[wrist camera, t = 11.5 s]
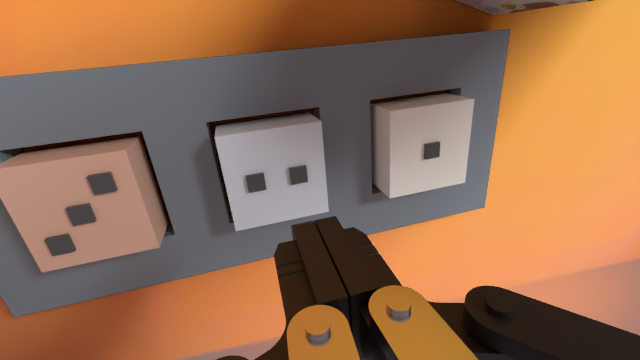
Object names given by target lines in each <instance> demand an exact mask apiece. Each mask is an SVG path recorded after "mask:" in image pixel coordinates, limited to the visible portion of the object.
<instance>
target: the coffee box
mask: <svg viewBox="0 0 640 360" xmlns="http://www.w3.org/2000/svg"><path fill="white" fill-rule="evenodd" d="M456 1H459V2H461V3H464V4H466V5H469V6H471V7H473V8H476V9H478V10H481V11H483V12H486V13H489V14H492V15H501V14H507V13H513V12H519V11H525V10H532V9H538V8H545V7H552V6H558V5H567V4H573V3H580V2H586V1H593V0H456Z"/></svg>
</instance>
